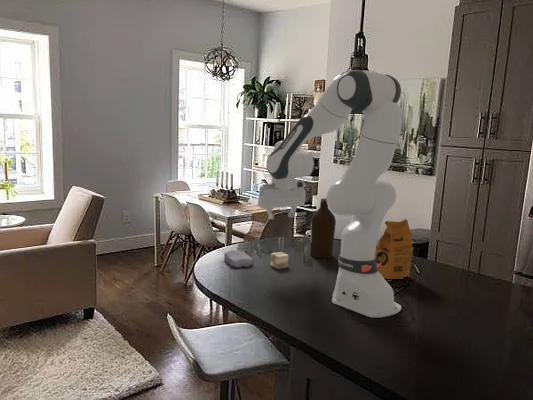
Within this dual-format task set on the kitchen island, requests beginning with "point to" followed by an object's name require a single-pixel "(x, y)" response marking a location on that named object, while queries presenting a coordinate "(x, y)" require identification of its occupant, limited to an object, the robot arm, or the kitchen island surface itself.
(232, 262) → the stone block
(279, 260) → the maple block
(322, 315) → the kitchen island surface
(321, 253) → the olive oil
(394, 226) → the coffee package
